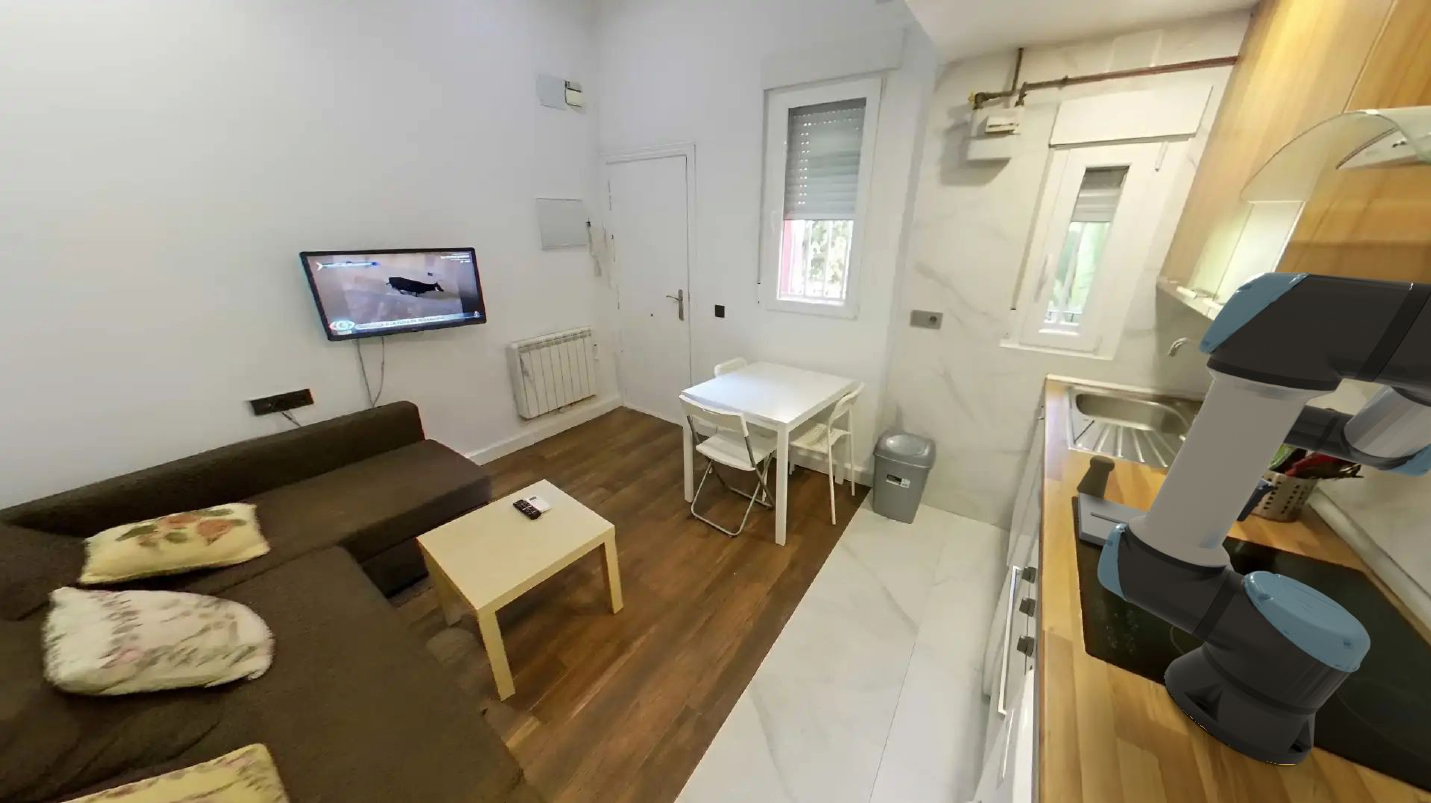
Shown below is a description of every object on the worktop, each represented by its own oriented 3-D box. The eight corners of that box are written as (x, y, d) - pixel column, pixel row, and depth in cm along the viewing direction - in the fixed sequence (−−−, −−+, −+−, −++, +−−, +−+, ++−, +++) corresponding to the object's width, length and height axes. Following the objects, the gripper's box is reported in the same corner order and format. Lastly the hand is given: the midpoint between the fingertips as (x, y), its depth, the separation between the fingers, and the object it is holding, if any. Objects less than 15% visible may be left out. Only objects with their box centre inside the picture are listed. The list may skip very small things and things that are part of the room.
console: (1235, 589, 92) (1240, 581, 91) (1079, 538, 106) (1082, 530, 105) (1211, 537, 107) (1215, 529, 106) (1077, 498, 121) (1080, 491, 120)
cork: (1108, 499, 120) (1124, 465, 116) (1083, 496, 121) (1098, 462, 117) (1096, 487, 126) (1110, 453, 121) (1072, 484, 127) (1085, 451, 122)
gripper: (1295, 451, 90) (1238, 542, 99) (1186, 429, 99) (1144, 514, 108) (1310, 467, 84) (1249, 561, 94) (1194, 442, 93) (1148, 531, 102)
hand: (1193, 536), depth 101 cm, fingers closed on fader tab, 3 cm apart
